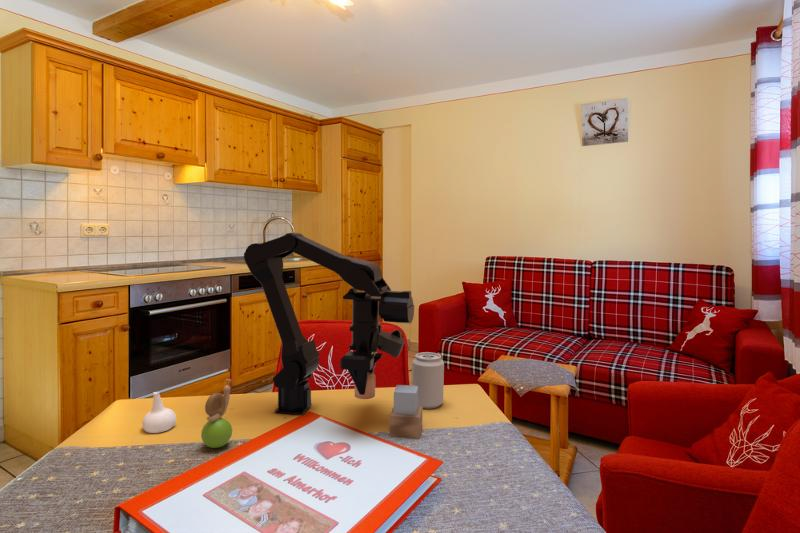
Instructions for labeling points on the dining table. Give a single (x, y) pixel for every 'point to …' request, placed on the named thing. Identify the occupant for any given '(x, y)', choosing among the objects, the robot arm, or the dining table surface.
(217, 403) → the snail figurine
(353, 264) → the robot arm
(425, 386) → the can
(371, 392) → the terracotta cylinder
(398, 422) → the walnut base block
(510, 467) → the dining table surface
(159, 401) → the garlic bulb
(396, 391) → the slate cube
